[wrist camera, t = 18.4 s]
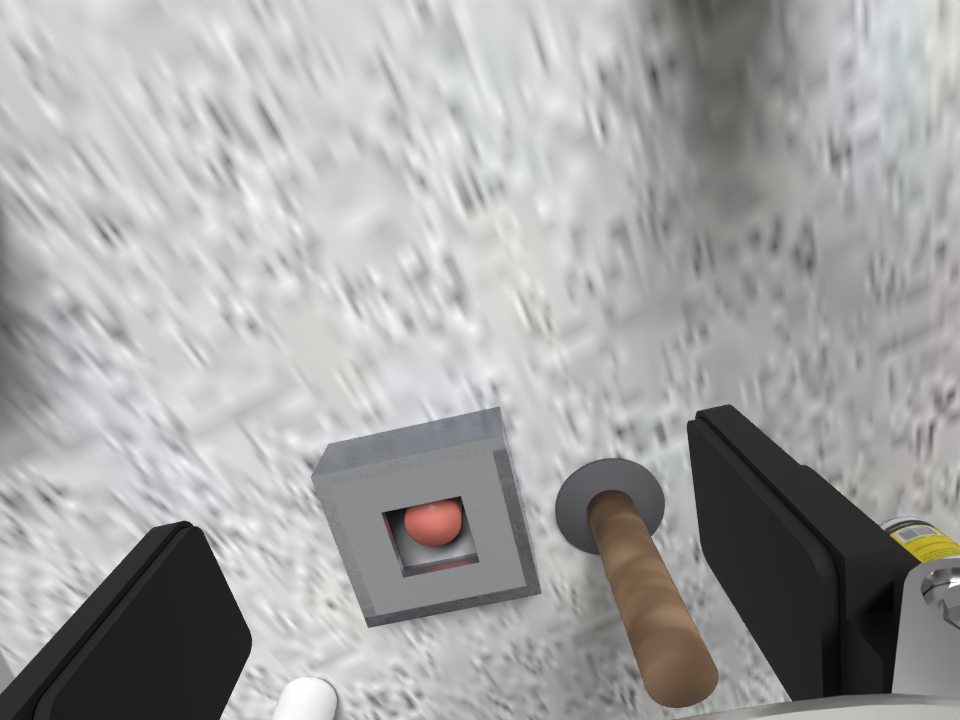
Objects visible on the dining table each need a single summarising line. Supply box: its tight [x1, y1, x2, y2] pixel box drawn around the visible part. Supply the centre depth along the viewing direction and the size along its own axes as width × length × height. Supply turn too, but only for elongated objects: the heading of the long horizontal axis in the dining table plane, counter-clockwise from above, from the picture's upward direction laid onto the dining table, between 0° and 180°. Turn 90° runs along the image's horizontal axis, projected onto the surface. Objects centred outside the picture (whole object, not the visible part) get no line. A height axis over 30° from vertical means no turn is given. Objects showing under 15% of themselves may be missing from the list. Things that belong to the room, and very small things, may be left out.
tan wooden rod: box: [587, 490, 718, 708], centre depth 37 cm, size 4×4×16 cm
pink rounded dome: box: [405, 496, 462, 546], centre depth 43 cm, size 4×4×2 cm
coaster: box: [555, 458, 665, 555], centre depth 45 cm, size 9×9×1 cm
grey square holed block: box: [311, 407, 541, 628], centre depth 43 cm, size 14×14×5 cm
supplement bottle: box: [880, 517, 960, 563], centre depth 42 cm, size 6×6×11 cm
